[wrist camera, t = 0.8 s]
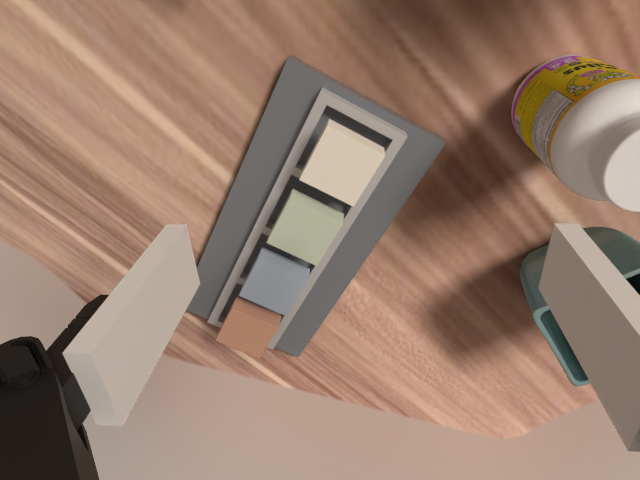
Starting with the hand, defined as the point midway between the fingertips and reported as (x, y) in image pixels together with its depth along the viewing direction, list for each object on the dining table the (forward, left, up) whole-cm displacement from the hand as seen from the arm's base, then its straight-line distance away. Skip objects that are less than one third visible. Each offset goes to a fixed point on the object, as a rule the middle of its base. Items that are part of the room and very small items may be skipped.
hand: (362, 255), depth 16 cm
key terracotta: (0, -21, -17) cm, 27 cm away
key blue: (0, -15, -17) cm, 22 cm away
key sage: (0, -9, -17) cm, 19 cm away
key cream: (0, -3, -16) cm, 17 cm away
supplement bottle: (+12, +7, -20) cm, 24 cm away
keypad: (0, -12, -20) cm, 23 cm away
